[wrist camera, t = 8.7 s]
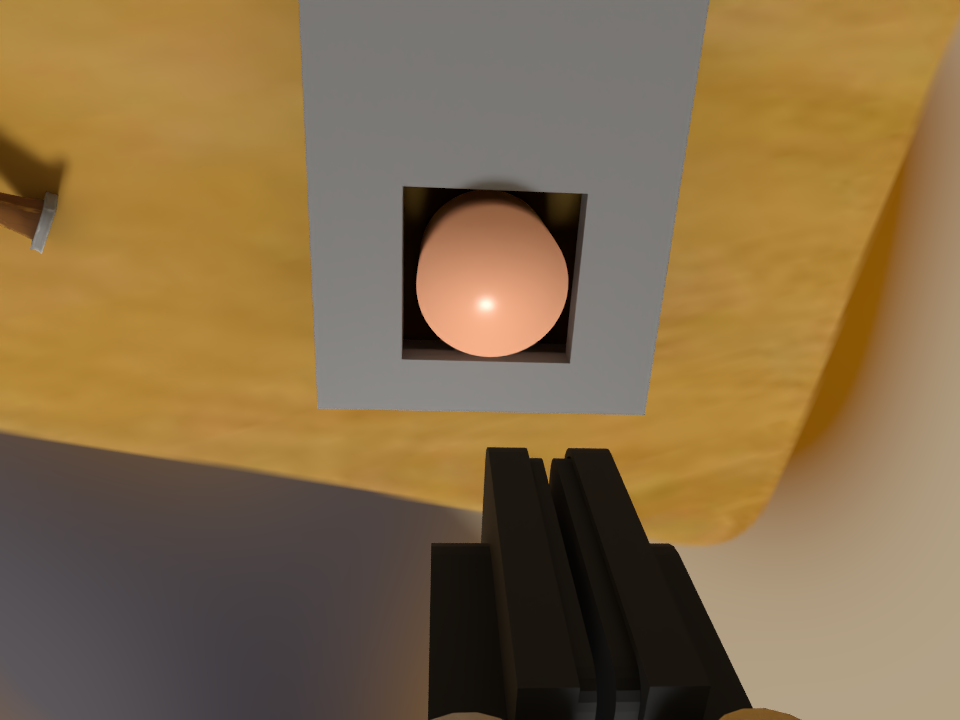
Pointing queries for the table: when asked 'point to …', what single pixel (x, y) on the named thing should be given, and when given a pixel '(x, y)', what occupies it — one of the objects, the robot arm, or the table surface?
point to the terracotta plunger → (490, 274)
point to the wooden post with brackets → (28, 216)
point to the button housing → (494, 183)
